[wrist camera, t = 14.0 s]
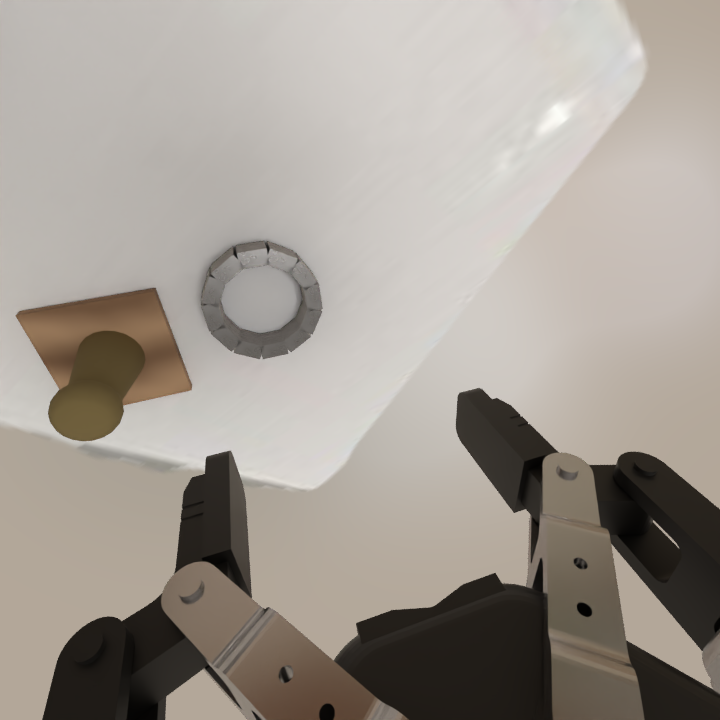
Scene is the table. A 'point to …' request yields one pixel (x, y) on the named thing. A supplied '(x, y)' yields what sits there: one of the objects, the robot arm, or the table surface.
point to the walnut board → (111, 313)
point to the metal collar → (252, 341)
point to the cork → (97, 386)
